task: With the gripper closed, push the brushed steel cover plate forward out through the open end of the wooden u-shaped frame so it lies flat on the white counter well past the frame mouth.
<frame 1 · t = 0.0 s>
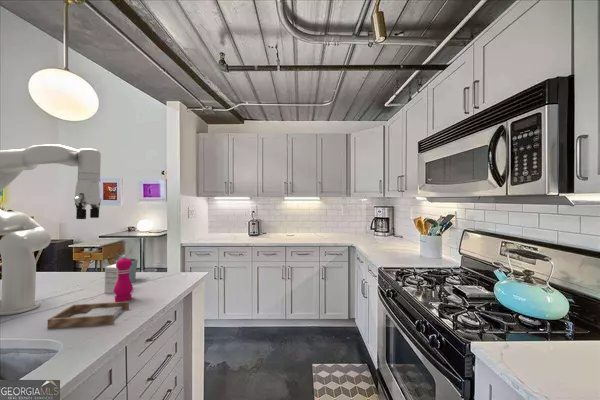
hand: (88, 218, 113), 37 cm above the countertop, tool pointing down, fingers open, 9 cm apart
pepper mill: (123, 299, 120), on the countertop
cover plate: (102, 318, 101), on the countertop
supplement box: (116, 291, 131), on the countertop
drinking glass: (126, 282, 146), on the countertop
wooden u-shaped frame: (91, 317, 100), on the countertop
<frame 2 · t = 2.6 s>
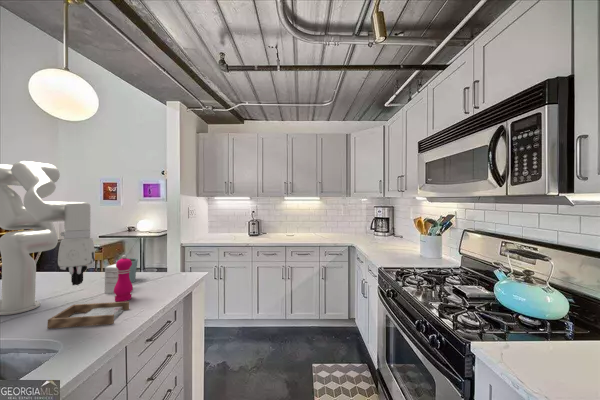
hand: (77, 284, 99), 13 cm above the countertop, tool pointing down, fingers closed
nothing on the countertop moved.
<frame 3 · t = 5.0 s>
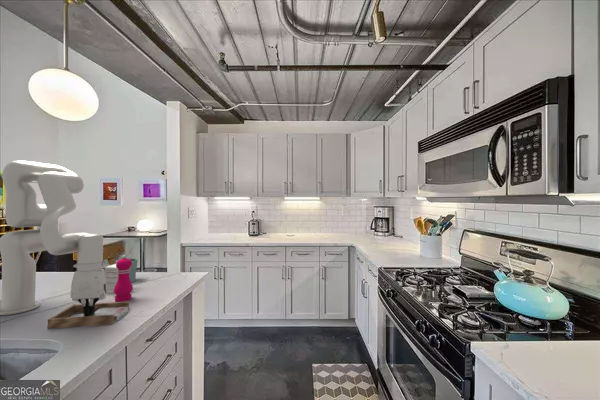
hand: (89, 315, 100), 1 cm above the countertop, tool pointing down, fingers closed
cover plate: (108, 318, 101), on the countertop
everything else where it was.
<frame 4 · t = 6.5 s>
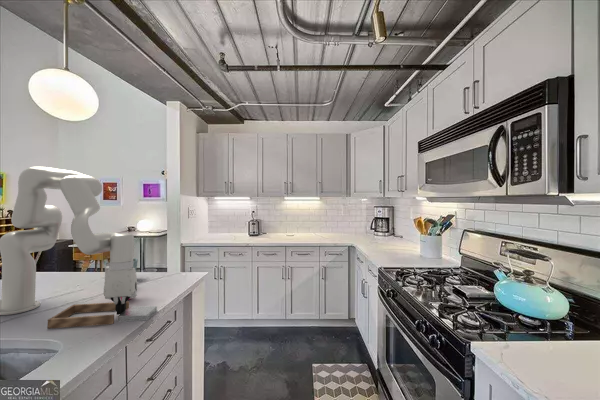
hand: (120, 313, 102), 1 cm above the countertop, tool pointing down, fingers closed
cover plate: (138, 317, 103), on the countertop
everything else where it was.
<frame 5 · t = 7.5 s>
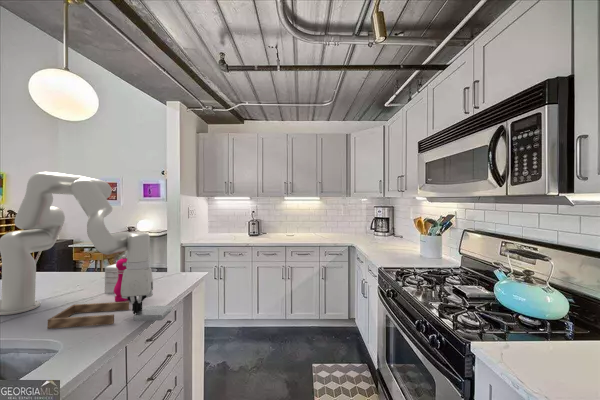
hand: (137, 312, 104), 1 cm above the countertop, tool pointing down, fingers closed
cover plate: (153, 316, 103), on the countertop, touching gripper
everything else where it was.
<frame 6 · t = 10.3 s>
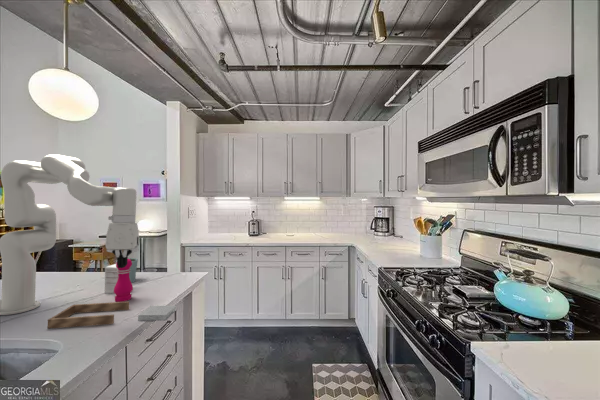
hand: (122, 266, 103), 19 cm above the countertop, tool pointing down, fingers closed
cover plate: (157, 316, 103), on the countertop
everything else where it was.
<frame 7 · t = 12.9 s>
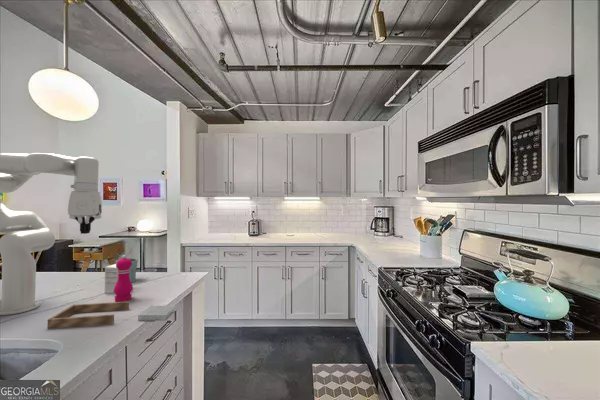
hand: (85, 233, 107), 31 cm above the countertop, tool pointing down, fingers closed
nothing on the countertop moved.
at the end: cover plate inside the target area (1.9 cm from its centre), on the countertop; cover plate tilted 0°; cover plate touching countertop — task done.
